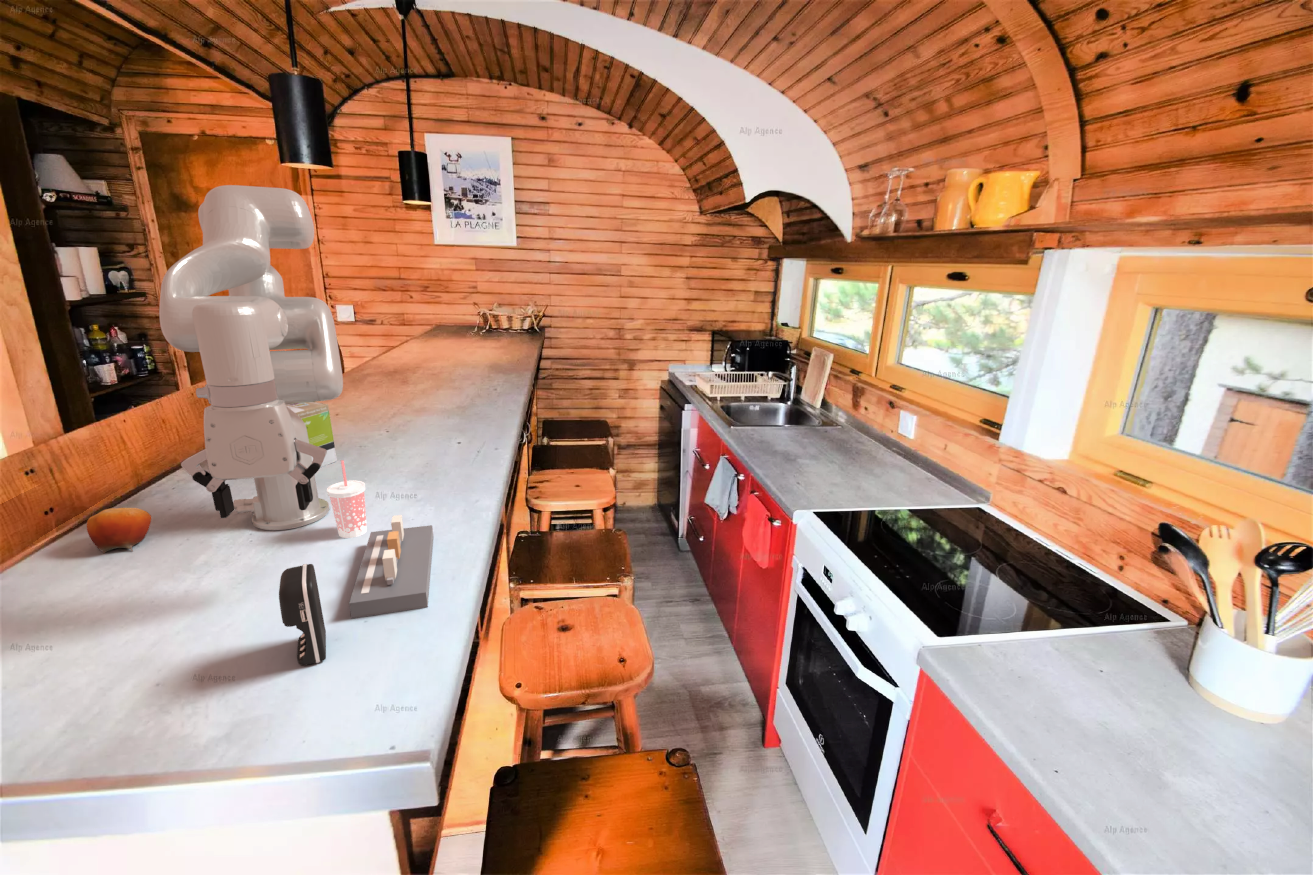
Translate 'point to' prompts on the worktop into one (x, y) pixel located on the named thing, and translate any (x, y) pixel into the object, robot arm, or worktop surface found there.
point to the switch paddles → (393, 549)
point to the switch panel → (410, 577)
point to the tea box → (317, 427)
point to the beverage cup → (348, 506)
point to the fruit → (118, 528)
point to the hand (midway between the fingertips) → (267, 510)
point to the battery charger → (303, 612)
